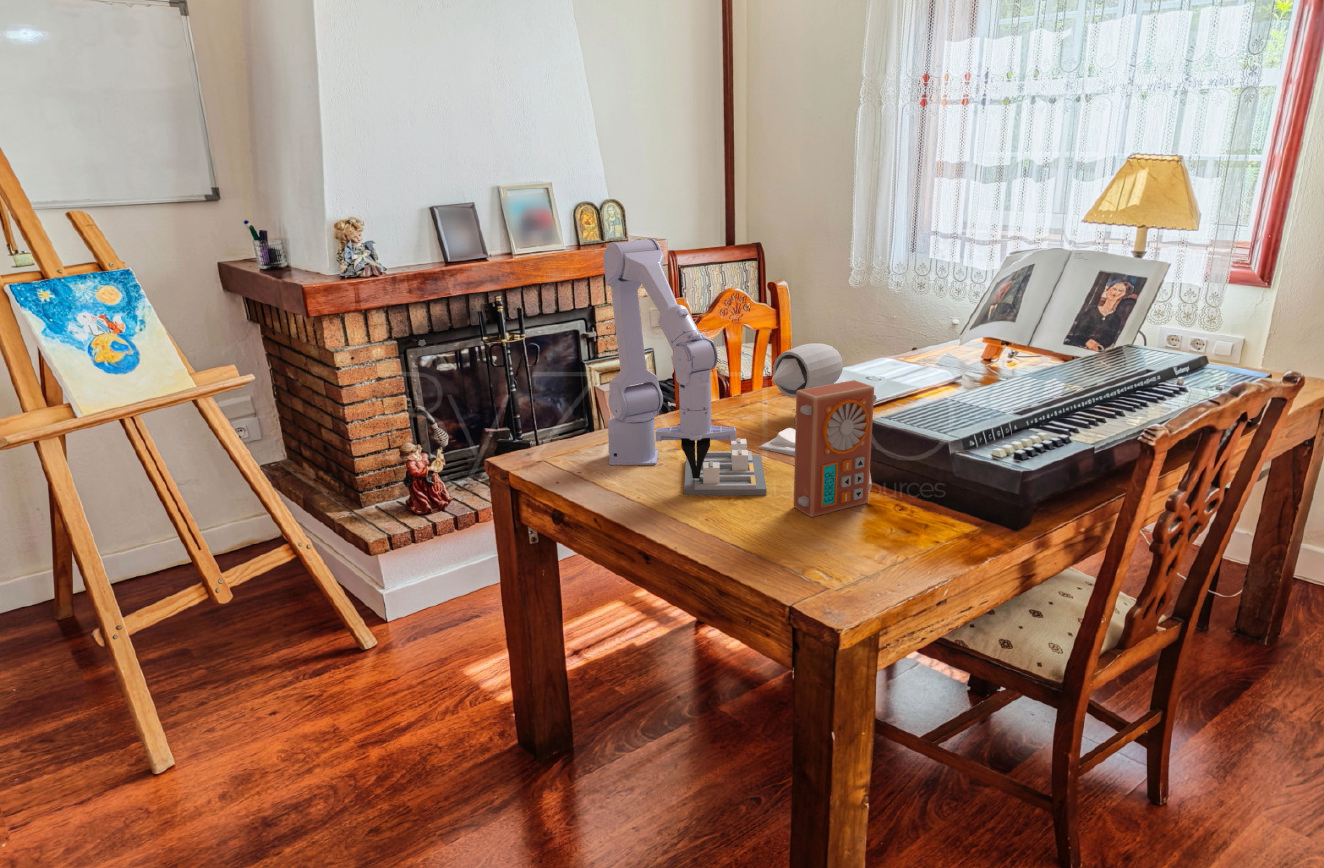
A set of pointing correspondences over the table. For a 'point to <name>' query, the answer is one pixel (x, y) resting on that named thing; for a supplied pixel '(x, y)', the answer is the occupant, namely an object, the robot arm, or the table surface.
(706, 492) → the switch unit
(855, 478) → the control panel
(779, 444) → the light switch
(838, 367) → the jet engine
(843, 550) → the table surface
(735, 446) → the slider far
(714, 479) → the slider near
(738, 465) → the slider mid
